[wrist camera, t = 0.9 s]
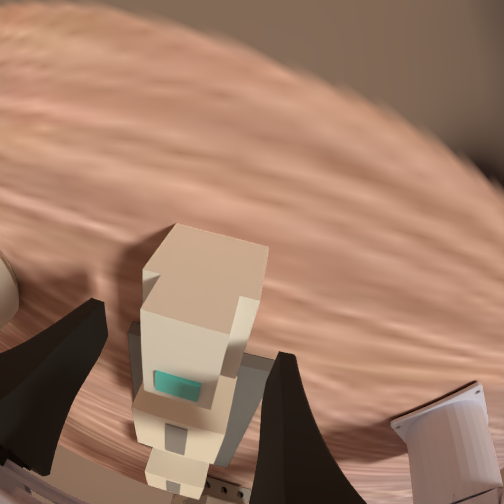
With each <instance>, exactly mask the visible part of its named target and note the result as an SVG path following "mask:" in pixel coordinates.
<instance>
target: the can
mask: <svg viewBox="0 0 504 504" xmlns="http://www.w3.org/2000/svg"><path fill="white" fill-rule="evenodd" d="M18 309H19V295H18V284H17V279H16V277H15V274H14V272H13V270H12V268H11V266H10V264H9V263H8V261H7V259H6V257H5V256H4V255H3V254H2V253H1V251H0V332H1V330H2V329H3V328H4V327H5V326H6V324H7V323H8V322H9V321H10V320H11V319H12V317H13V316H14V315H15V314H16V312H17V311H18Z"/></svg>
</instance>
